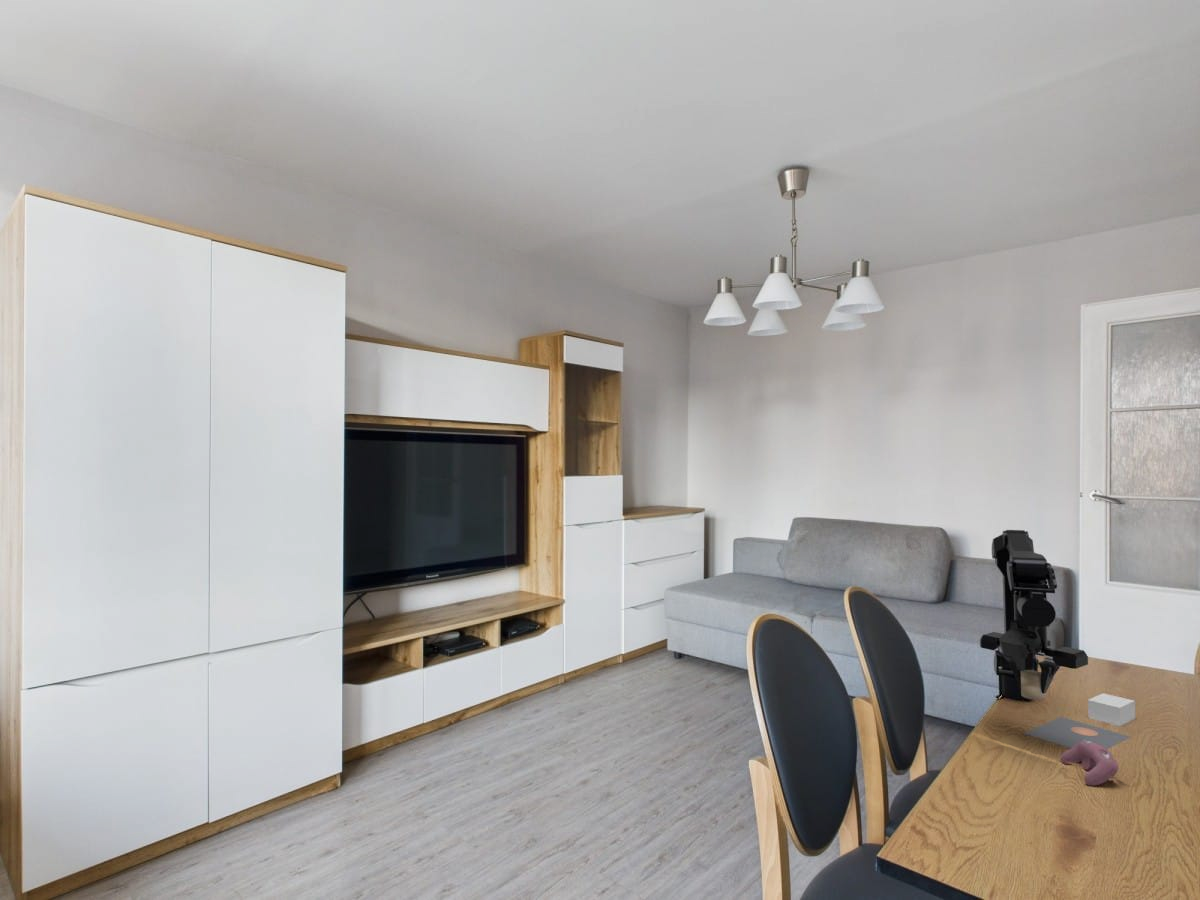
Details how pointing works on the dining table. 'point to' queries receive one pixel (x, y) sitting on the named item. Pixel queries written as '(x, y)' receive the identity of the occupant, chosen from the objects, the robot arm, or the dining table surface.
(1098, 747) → the video game controller
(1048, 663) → the robot arm
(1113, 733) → the board
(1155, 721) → the dining table surface
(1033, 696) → the beige cylinder
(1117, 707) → the white rectangular block
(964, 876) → the dining table surface
